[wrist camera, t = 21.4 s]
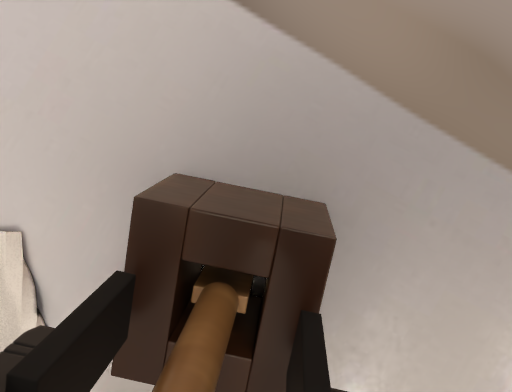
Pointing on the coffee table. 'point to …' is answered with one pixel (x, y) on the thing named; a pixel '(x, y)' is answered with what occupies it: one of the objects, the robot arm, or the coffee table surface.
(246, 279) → the stick
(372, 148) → the coffee table surface
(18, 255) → the cloth
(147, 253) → the holder
